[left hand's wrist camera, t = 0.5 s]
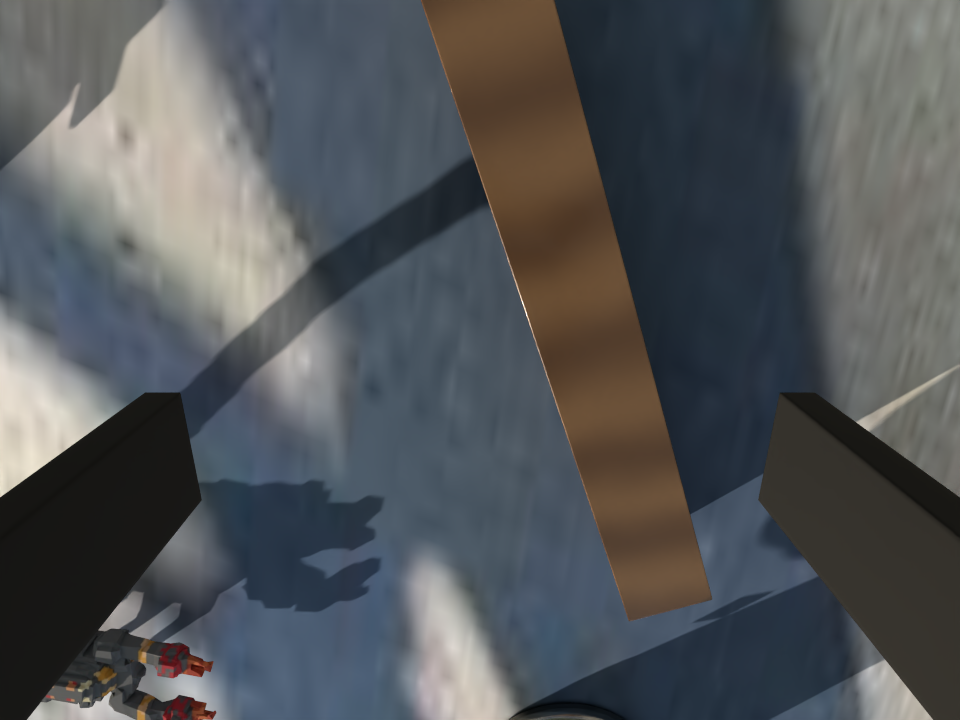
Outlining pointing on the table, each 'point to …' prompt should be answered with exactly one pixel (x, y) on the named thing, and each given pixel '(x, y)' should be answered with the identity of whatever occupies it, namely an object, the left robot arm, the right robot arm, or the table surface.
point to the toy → (130, 676)
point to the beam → (572, 285)
